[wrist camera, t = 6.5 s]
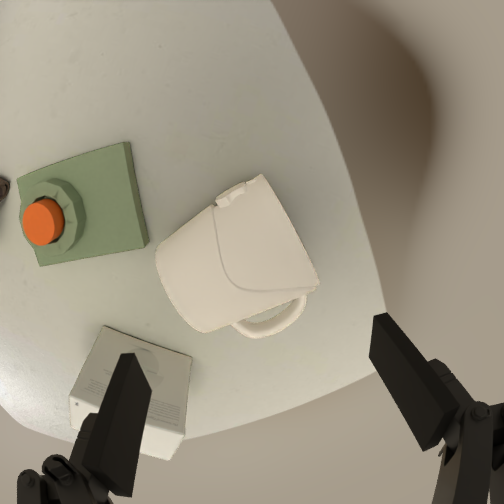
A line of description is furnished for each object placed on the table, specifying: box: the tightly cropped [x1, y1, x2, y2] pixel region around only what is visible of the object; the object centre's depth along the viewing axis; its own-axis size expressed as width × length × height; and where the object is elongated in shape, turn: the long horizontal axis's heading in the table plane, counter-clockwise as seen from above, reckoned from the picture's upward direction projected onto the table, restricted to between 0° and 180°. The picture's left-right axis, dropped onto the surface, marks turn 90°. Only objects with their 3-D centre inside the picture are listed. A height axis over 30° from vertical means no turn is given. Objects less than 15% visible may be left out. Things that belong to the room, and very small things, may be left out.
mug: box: [155, 174, 320, 338], centre depth 23 cm, size 12×9×8 cm
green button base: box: [17, 142, 149, 267], centre depth 22 cm, size 12×9×4 cm
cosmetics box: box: [69, 326, 192, 461], centre depth 25 cm, size 10×6×10 cm, turn 66°
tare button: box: [23, 199, 64, 246], centre depth 20 cm, size 4×4×2 cm
